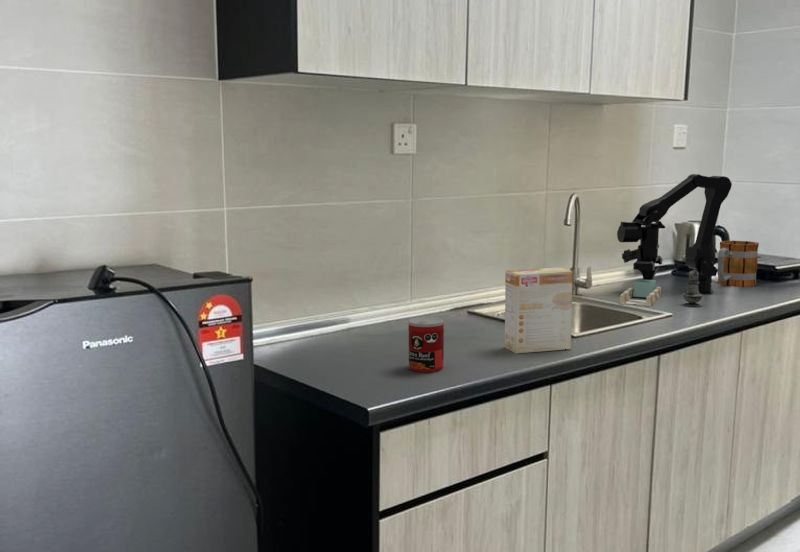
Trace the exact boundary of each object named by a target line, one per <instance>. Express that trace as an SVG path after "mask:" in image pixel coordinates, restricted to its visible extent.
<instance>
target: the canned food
mask: <svg viewBox="0 0 800 552" xmlns="http://www.w3.org/2000/svg"><path fill="white" fill-rule="evenodd" d="M444 324H445V323H444V320H443V318H440V317H435V316H434V317H433V316H422V317H421V316H419V317H413V318H410V319H409V320H408V367H409V369H410V370H411V371H412V370H413V372H415V371H418V372H417V373H421V372H430V373H434V372H433V371H437V372H439V371H441V370H442V369H443V368H444V365H445V363H444V353H445V351H444V349H445V346H444V345H445V344H444V343H445V341H444V339H445V337H444V335H445V333H444V332H445V330H444V329H445V328H444V326H445V325H444ZM438 370H439V371H438Z"/></svg>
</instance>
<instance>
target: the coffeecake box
mask: <svg viewBox="0 0 800 552" xmlns="http://www.w3.org/2000/svg"><path fill="white" fill-rule="evenodd" d="M504 287H505V288H504V289H505V294H504V295H505V297H504V298H505V299H504V303H505V304H504V314H505V315H504V348H505V349H506V350H508V349H509V350H508V351H510V352H512V353H513V354H515V355H516V354H525V353H527V354H528V353H538V352H539V353H541V352H551V351H553V352H554V351H564V350H565V349H566V350H572V349H571V348H572V315H573V314H572V312H573V311H572V310H573V309H572V308H573V305H572V304H573V271H572V270H570V269H567V268H565V267H548V268H547V267H545V268H528V269H527V268H526V269H510V270H505V286H504ZM566 350H565V351H566Z"/></svg>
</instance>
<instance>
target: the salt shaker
mask: <svg viewBox="0 0 800 552" xmlns="http://www.w3.org/2000/svg"><path fill="white" fill-rule="evenodd" d="M698 277H699V273H698V272H697V271H696V270H695V268H693V270H692V271H690V270H689V272H688V281H687V290H686V292H683V293H682V295H683V298H684V299H683V300H685V303H683V304H682V306H683V307H686V308H701V307H702V305H701V304H700V303H699V302H700V301H702V297H703V295H704V294H703V293H699V291H698V284H699V282H698Z"/></svg>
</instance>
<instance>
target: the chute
mask: <svg viewBox="0 0 800 552" xmlns="http://www.w3.org/2000/svg"><path fill="white" fill-rule="evenodd" d="M633 290H634V284H632V285H631V286H629V288H627V289H626V290H625V291H623V292H621V294H619V295H620V296H619V305H623V304H624V305H625V304H626V305H634V304H636V305H635V306H645V307H647V306H649V307H648V308H650V307H651V306H652V305H653V304H654V303H655V302H656V301H658V299H660V297H661V295H662V286H656V289H655V290H653V291H652V292H651V293H650V294H649V295H648V296H647V297H645V298H646V300H642V299H632V298H633Z"/></svg>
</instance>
